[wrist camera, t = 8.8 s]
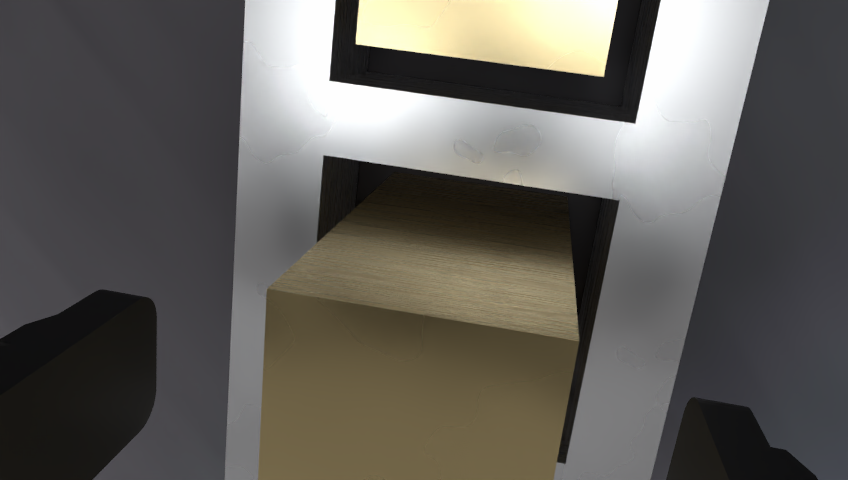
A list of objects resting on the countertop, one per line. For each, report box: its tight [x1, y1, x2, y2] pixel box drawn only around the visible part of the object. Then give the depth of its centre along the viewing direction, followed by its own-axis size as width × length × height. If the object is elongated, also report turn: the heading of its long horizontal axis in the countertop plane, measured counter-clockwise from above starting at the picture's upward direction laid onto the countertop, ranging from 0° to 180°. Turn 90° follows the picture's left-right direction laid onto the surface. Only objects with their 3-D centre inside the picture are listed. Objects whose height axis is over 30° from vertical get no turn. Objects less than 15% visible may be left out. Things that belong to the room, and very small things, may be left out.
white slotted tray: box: [225, 0, 769, 480], centre depth 15 cm, size 22×9×4 cm, turn 173°
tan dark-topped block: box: [258, 172, 579, 480], centre depth 14 cm, size 4×4×8 cm
